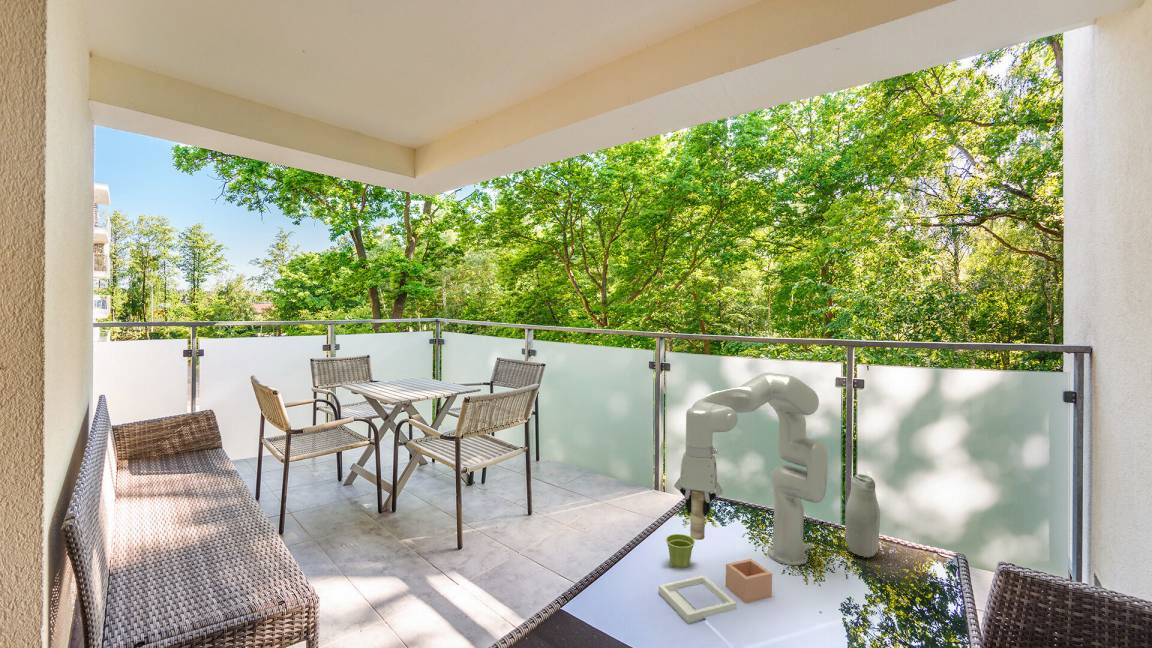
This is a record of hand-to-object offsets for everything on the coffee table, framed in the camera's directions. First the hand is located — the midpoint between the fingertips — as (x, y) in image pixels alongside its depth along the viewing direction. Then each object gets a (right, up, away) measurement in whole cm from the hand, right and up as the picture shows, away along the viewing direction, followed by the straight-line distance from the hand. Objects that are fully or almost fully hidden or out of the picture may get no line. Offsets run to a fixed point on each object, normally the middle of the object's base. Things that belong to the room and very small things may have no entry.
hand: (697, 512), depth 154 cm
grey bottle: (+64, -26, +30) cm, 75 cm away
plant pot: (-1, -26, +23) cm, 35 cm away
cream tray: (0, -27, +2) cm, 27 cm away
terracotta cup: (+17, -27, +6) cm, 32 cm away
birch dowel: (0, -7, 0) cm, 7 cm away
